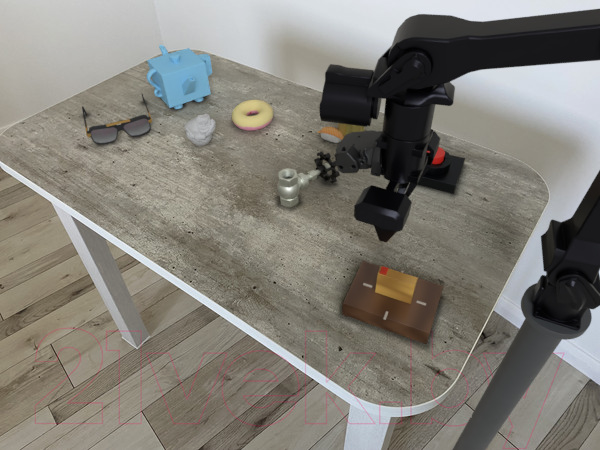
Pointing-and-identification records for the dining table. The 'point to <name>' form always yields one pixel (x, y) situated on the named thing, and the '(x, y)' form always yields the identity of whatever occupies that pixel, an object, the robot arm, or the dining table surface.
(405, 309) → the panel
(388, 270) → the lock knob
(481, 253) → the dining table surface
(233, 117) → the donut
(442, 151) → the button
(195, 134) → the grey lumpy blob
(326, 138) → the sushi
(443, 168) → the button box
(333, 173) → the valve
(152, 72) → the teapot
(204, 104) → the dining table surface
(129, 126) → the sunglasses
